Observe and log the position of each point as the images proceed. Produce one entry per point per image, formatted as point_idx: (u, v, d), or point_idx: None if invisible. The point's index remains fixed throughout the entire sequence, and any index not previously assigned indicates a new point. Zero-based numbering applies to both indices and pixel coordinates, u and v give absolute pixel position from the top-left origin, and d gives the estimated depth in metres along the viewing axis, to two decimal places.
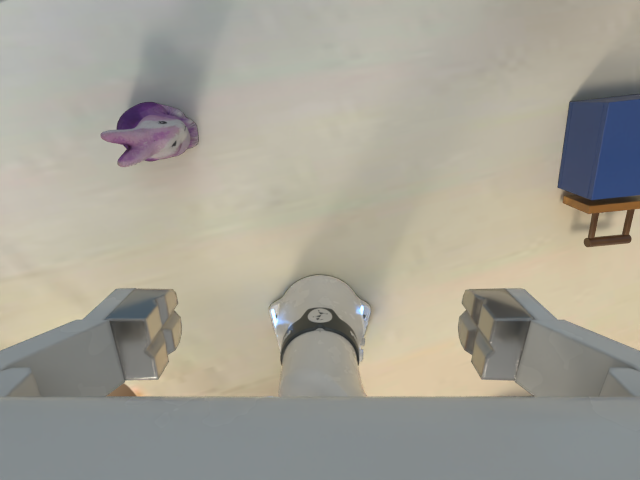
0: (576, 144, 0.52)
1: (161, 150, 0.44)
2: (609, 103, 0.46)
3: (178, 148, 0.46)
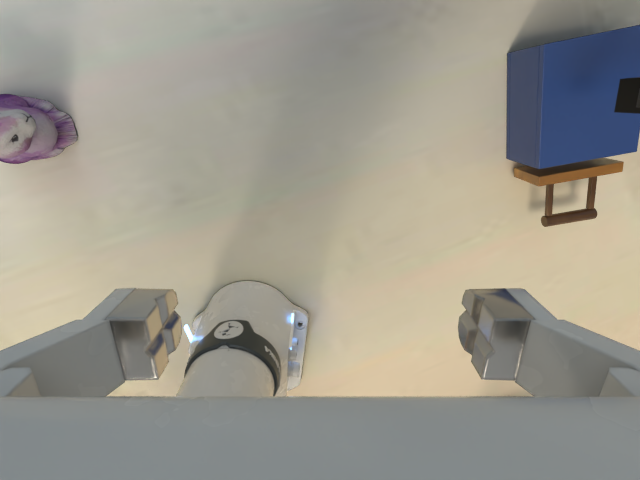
0: (518, 103, 0.43)
1: None
2: (544, 45, 0.37)
3: (24, 144, 0.38)
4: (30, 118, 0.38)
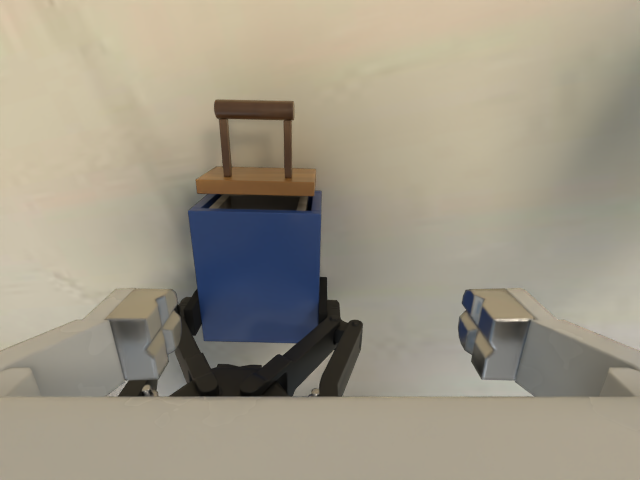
0: None
1: None
2: None
3: None
4: None
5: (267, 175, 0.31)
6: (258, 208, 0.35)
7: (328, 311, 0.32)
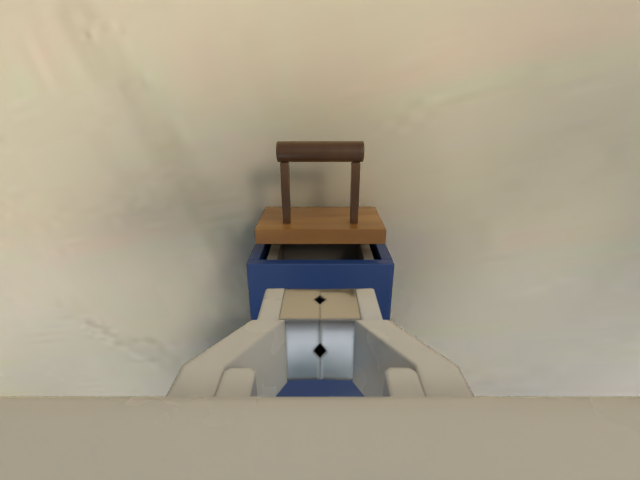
0: None
1: None
2: None
3: None
4: None
5: (329, 219, 0.28)
6: (312, 251, 0.32)
7: None
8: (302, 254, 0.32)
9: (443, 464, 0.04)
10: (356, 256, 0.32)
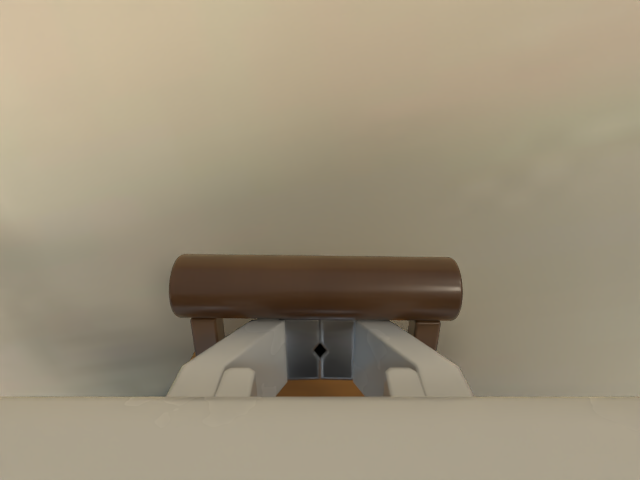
0: None
1: None
2: None
3: None
4: None
5: None
6: None
7: None
8: None
9: (443, 464, 0.04)
10: None
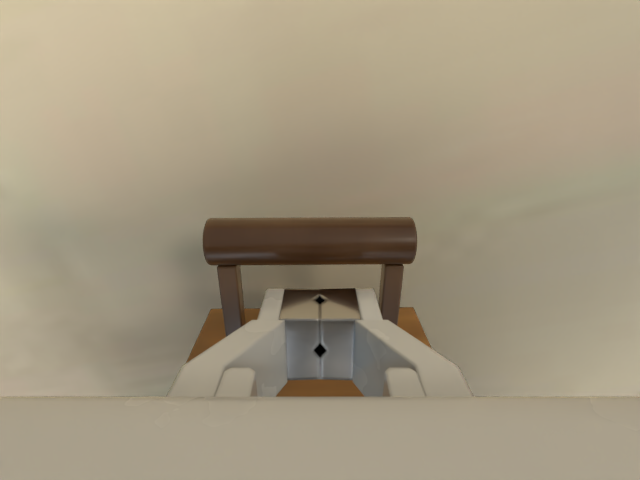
0: None
1: None
2: None
3: None
4: None
5: None
6: None
7: None
8: None
9: (443, 464, 0.04)
10: None
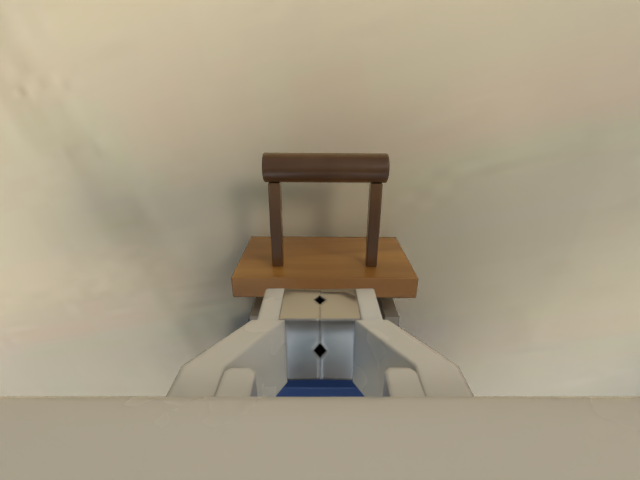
0: None
1: None
2: None
3: None
4: None
5: (336, 259, 0.21)
6: None
7: None
8: None
9: (443, 464, 0.04)
10: None
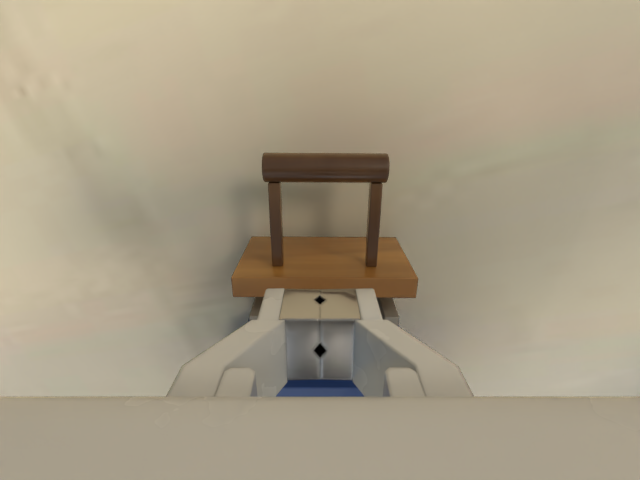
0: None
1: None
2: None
3: None
4: None
5: (336, 259, 0.20)
6: None
7: None
8: None
9: (443, 464, 0.04)
10: None
